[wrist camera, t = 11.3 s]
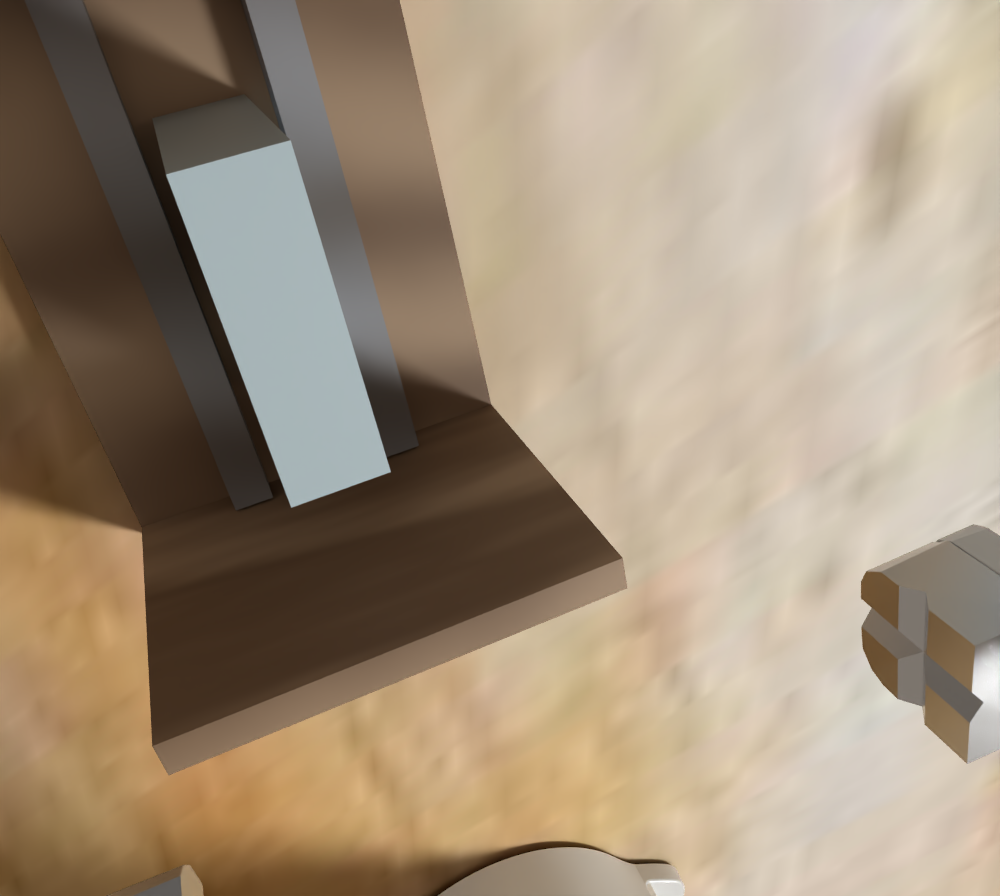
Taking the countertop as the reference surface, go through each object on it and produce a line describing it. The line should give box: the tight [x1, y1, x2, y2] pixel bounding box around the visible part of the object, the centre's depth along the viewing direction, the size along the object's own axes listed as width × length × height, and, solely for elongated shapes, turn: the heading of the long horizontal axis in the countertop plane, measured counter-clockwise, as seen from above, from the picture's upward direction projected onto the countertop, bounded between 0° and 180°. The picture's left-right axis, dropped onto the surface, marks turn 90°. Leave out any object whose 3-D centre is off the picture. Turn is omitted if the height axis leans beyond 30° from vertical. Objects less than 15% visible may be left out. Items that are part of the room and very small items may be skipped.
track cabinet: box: [0, 0, 627, 775], centre depth 23 cm, size 17×12×11 cm
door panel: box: [152, 94, 391, 508], centre depth 24 cm, size 8×2×8 cm, turn 12°
